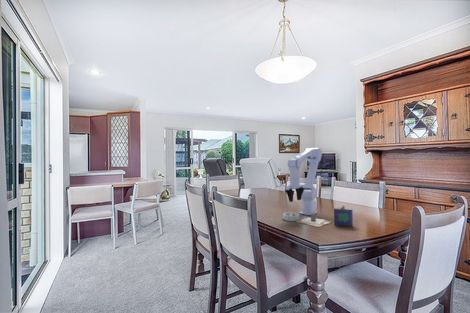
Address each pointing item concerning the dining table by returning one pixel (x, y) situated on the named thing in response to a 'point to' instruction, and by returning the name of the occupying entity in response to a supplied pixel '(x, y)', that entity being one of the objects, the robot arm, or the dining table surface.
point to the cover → (313, 220)
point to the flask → (343, 217)
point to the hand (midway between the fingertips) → (295, 200)
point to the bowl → (291, 216)
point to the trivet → (315, 224)
